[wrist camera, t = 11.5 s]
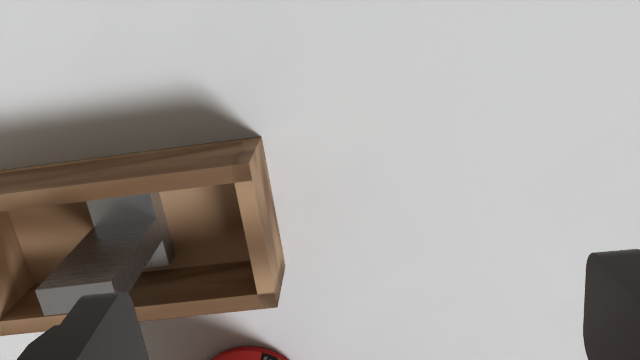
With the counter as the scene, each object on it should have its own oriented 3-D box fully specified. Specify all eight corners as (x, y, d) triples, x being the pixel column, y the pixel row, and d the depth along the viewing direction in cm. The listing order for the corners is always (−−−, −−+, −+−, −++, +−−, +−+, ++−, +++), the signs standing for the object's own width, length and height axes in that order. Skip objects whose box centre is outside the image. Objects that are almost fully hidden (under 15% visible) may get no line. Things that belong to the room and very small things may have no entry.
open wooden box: (-15, 172, 38) (-66, 202, 34) (261, 136, 37) (248, 163, 32) (29, 293, 41) (-12, 337, 37) (285, 265, 40) (277, 307, 35)
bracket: (95, 191, 38) (23, 259, 29) (156, 183, 37) (101, 249, 29) (116, 261, 39) (54, 344, 31) (175, 254, 39) (128, 336, 31)
